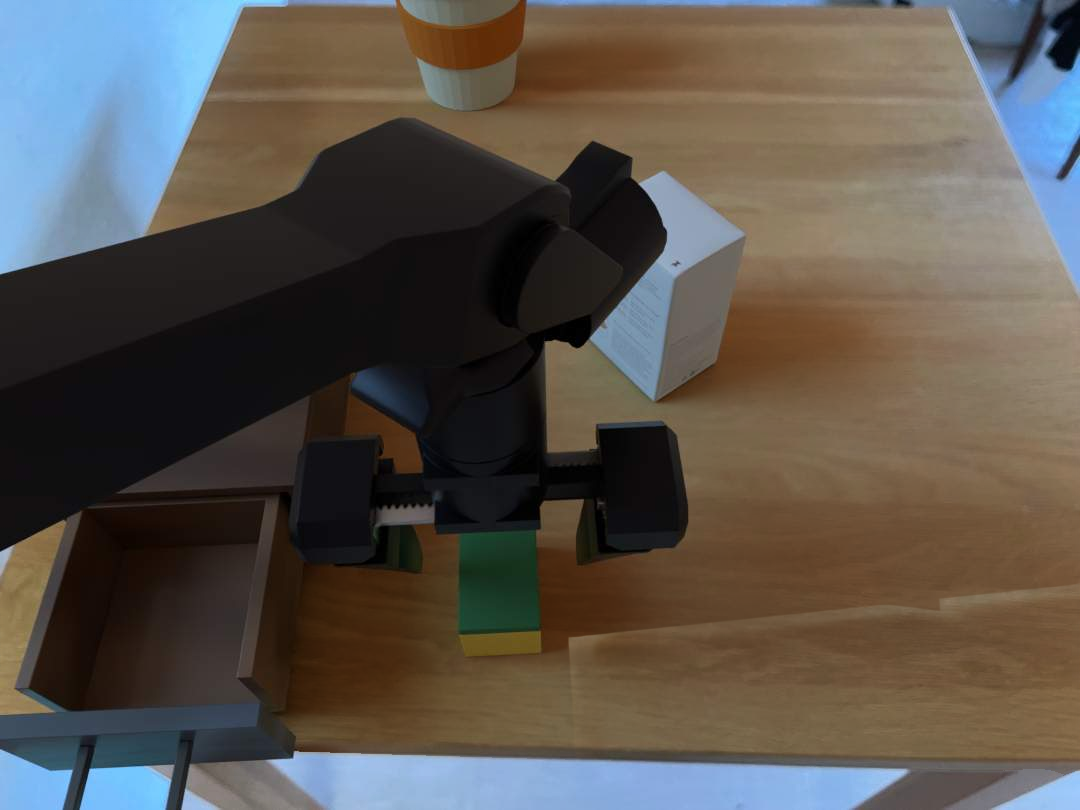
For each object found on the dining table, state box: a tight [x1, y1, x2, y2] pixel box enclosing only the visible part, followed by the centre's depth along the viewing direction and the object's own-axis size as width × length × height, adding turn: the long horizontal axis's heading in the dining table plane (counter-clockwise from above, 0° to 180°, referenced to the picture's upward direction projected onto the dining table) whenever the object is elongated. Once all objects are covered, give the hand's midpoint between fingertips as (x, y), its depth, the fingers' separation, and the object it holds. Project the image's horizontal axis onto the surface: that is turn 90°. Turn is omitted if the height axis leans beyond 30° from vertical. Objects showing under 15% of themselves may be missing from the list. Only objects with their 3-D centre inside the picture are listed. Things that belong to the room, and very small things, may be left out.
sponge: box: [457, 530, 543, 658], centre depth 50 cm, size 7×5×4 cm, turn 3°
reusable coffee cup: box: [395, 0, 528, 112], centre depth 77 cm, size 12×13×15 cm
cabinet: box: [63, 374, 351, 523], centre depth 55 cm, size 15×15×9 cm
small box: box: [589, 170, 748, 403], centre depth 58 cm, size 8×6×13 cm
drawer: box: [0, 492, 305, 810], centre depth 46 cm, size 18×13×7 cm
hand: (499, 561), depth 48 cm, fingers open, 9 cm apart
